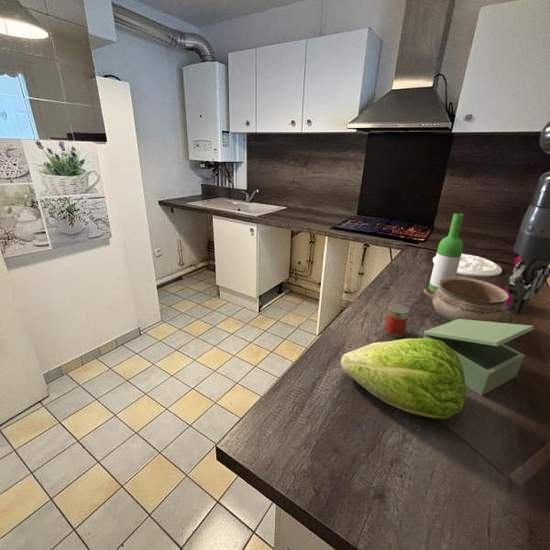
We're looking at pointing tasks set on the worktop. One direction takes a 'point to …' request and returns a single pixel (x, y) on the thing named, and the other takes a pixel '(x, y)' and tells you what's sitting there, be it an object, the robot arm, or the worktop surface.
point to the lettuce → (410, 375)
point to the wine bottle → (447, 254)
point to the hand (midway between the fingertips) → (515, 312)
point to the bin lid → (479, 331)
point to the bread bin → (484, 363)
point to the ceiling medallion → (477, 266)
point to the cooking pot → (469, 300)
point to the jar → (396, 320)
